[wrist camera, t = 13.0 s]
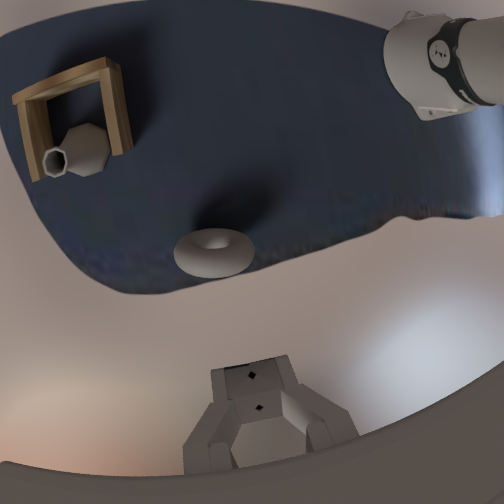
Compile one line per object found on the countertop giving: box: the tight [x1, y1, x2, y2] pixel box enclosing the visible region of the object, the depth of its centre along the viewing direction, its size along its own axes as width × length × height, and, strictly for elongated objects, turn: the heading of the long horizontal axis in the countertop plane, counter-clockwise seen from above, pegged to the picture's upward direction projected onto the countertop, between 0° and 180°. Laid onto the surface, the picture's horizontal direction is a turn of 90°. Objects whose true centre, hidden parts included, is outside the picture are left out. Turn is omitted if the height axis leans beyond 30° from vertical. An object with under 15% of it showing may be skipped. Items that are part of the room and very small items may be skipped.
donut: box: [174, 228, 255, 278], centre depth 38 cm, size 10×4×10 cm, turn 89°
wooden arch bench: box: [12, 57, 134, 182], centre depth 29 cm, size 12×11×7 cm
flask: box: [42, 123, 111, 178], centre depth 29 cm, size 7×7×10 cm
